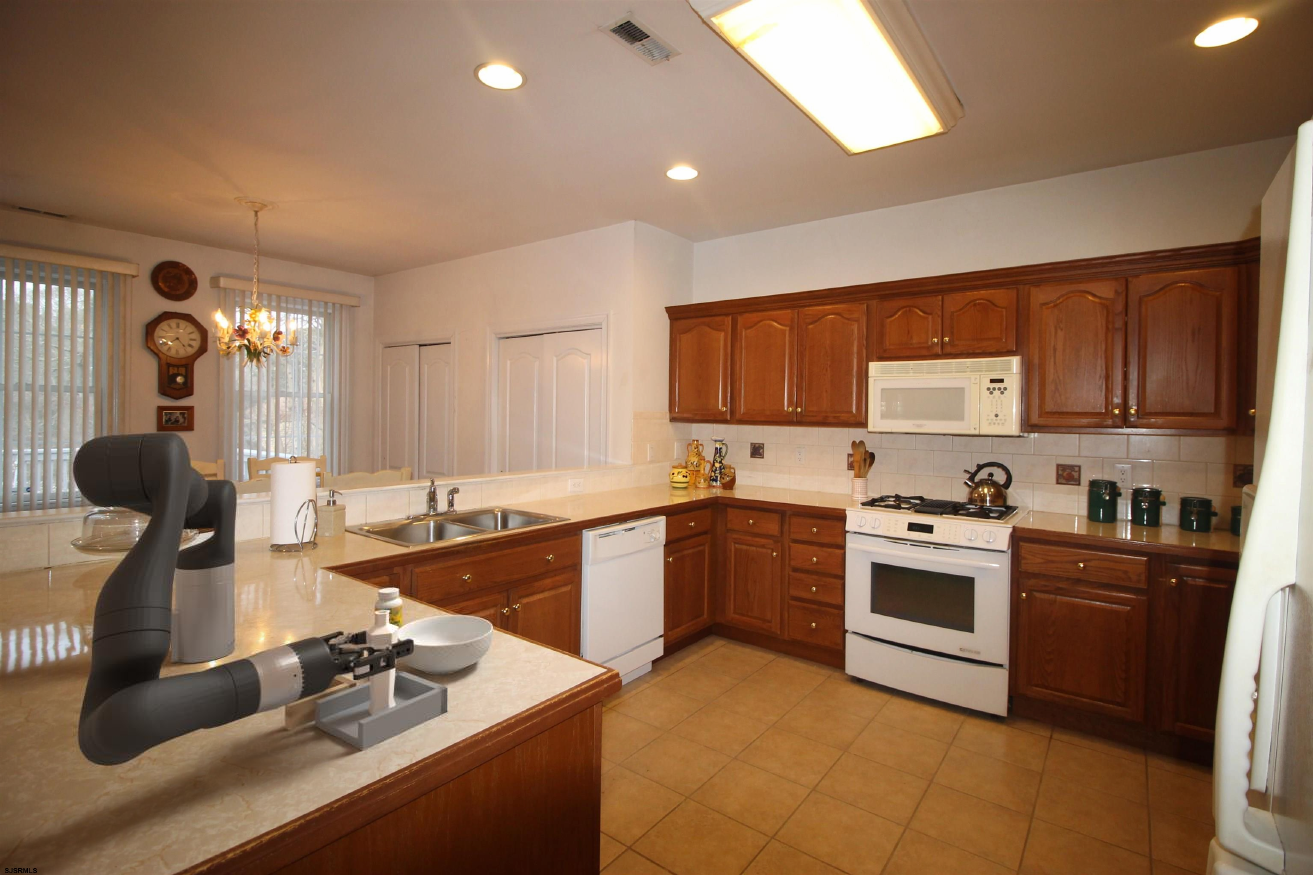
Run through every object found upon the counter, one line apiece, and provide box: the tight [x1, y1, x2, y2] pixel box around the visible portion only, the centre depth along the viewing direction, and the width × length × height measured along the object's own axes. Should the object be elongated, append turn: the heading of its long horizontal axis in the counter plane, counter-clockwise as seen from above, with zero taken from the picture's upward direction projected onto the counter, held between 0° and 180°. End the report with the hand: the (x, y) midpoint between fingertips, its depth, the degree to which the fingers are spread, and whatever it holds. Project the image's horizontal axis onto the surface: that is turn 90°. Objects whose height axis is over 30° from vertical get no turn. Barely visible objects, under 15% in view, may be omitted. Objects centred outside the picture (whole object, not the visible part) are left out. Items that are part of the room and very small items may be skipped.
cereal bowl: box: [398, 614, 494, 675], centre depth 115 cm, size 17×17×7 cm
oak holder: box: [284, 675, 358, 731], centre depth 98 cm, size 10×11×4 cm
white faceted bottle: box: [365, 610, 399, 715], centre depth 94 cm, size 5×4×15 cm
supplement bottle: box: [374, 587, 404, 630], centre depth 130 cm, size 5×5×10 cm
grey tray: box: [314, 669, 448, 751], centre depth 94 cm, size 14×12×4 cm
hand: (394, 639), depth 96 cm, fingers open, 8 cm apart
